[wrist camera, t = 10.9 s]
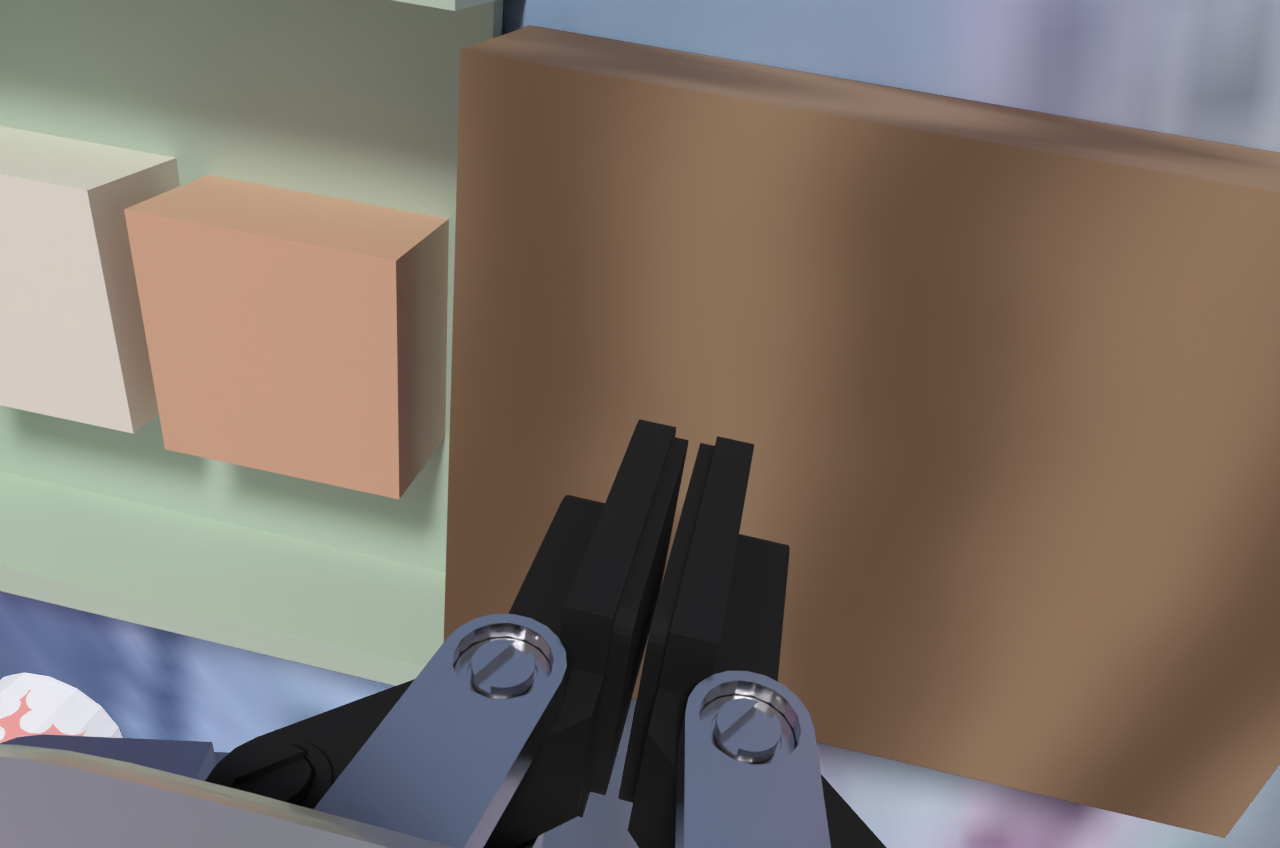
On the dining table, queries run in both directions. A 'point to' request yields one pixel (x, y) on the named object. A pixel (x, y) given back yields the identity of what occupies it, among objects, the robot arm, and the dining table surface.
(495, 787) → the robot arm
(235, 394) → the tile terracotta
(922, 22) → the dining table surface
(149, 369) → the tile cream
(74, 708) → the beverage cup
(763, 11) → the dining table surface
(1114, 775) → the walnut board
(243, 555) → the tray
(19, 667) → the dining table surface
